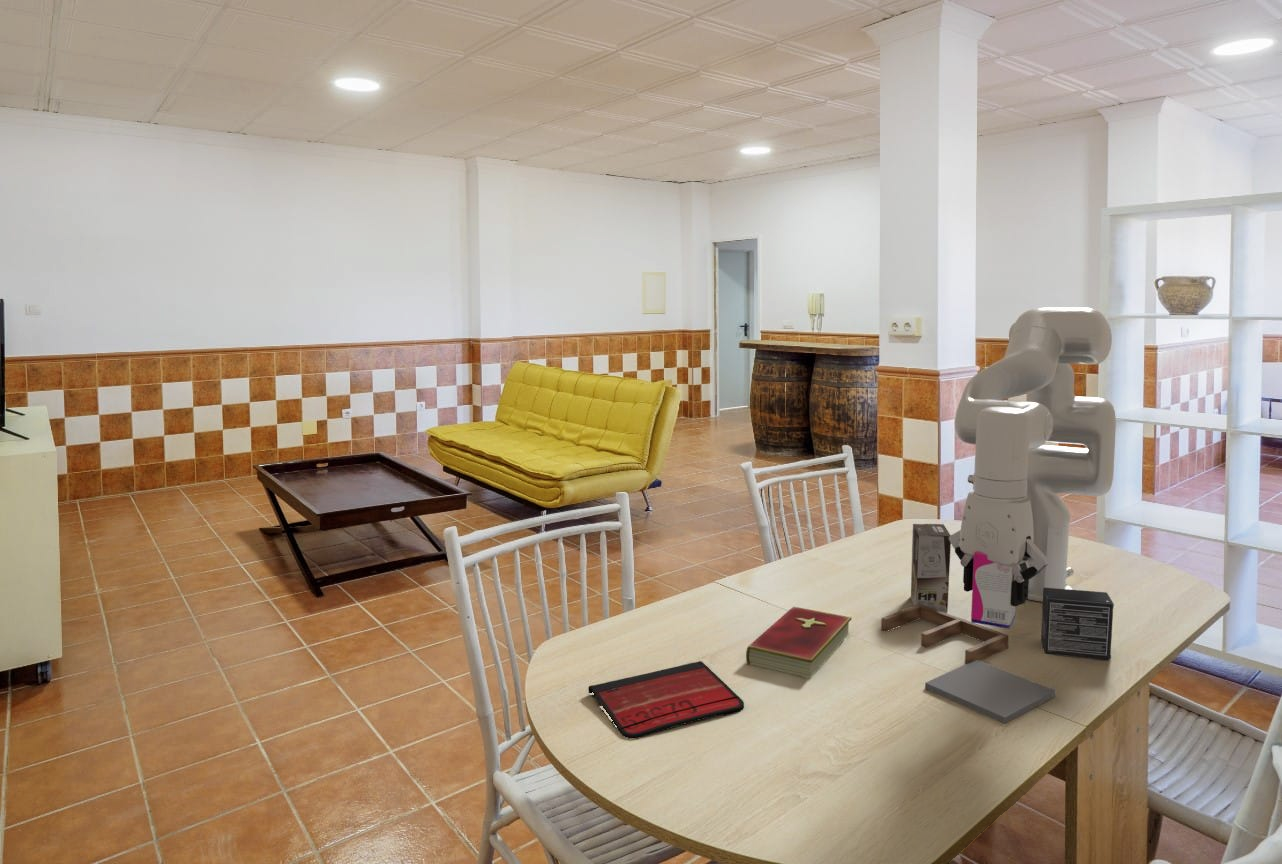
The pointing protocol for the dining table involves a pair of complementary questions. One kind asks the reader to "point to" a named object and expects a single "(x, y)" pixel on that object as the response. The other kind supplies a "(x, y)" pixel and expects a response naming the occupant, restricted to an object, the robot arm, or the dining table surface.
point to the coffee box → (930, 566)
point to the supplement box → (991, 593)
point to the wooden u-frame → (949, 631)
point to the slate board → (990, 690)
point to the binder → (665, 699)
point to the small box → (1077, 623)
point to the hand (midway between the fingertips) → (994, 596)
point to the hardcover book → (799, 641)
